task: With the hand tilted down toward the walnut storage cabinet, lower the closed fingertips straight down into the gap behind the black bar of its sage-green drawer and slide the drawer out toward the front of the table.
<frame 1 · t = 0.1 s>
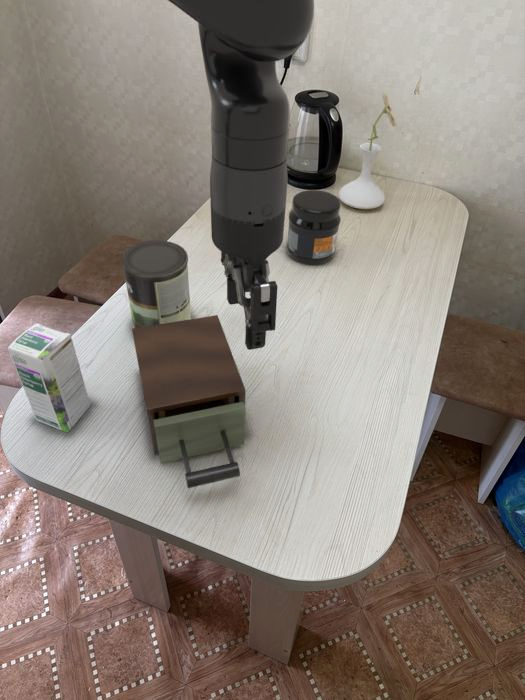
hand: (245, 323, 61), 19 cm above the table, tool pointing down, fingers open, 8 cm apart
coffee can: (163, 325, 89), on the table
syrup box: (64, 413, 74), on the table
drawer: (196, 414, 69), point 5 cm above the table, slide at 1.0 cm
flower in vase: (361, 201, 126), on the table
cabinet: (189, 403, 76), on the table
supplement container: (310, 253, 108), on the table
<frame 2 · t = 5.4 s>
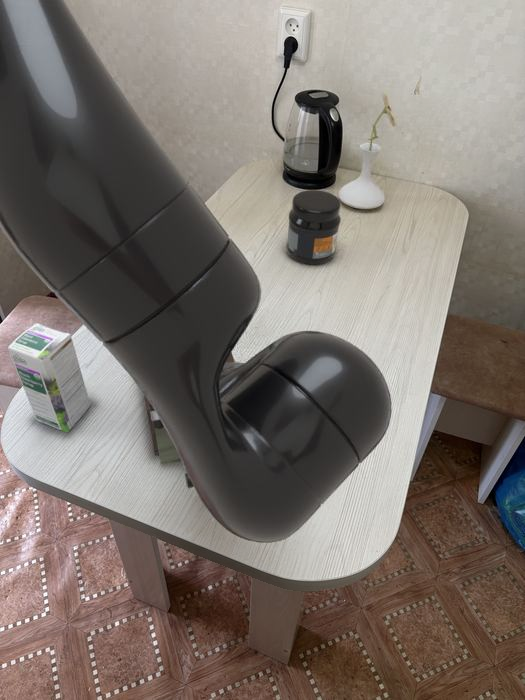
hand: (203, 398, 58), 15 cm above the table, tool tilted 45°, fingers closed
nothing on the table moved.
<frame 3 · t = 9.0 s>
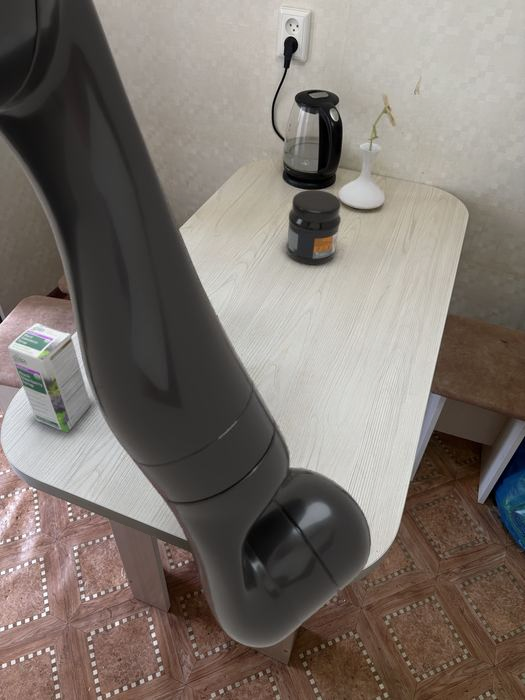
hand: (209, 458, 63), 5 cm above the table, tool tilted 45°, fingers closed
drawer: (196, 416, 68), point 5 cm above the table, slide at 1.4 cm, touching gripper
everything else where it was.
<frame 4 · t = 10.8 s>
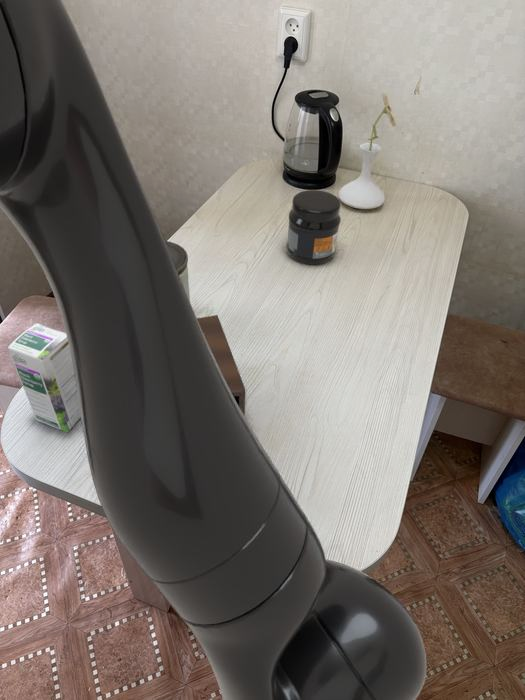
hand: (221, 503, 59), 5 cm above the table, tool tilted 45°, fingers closed
drawer: (207, 454, 64), point 5 cm above the table, slide at 7.7 cm, touching gripper
everything else where it was.
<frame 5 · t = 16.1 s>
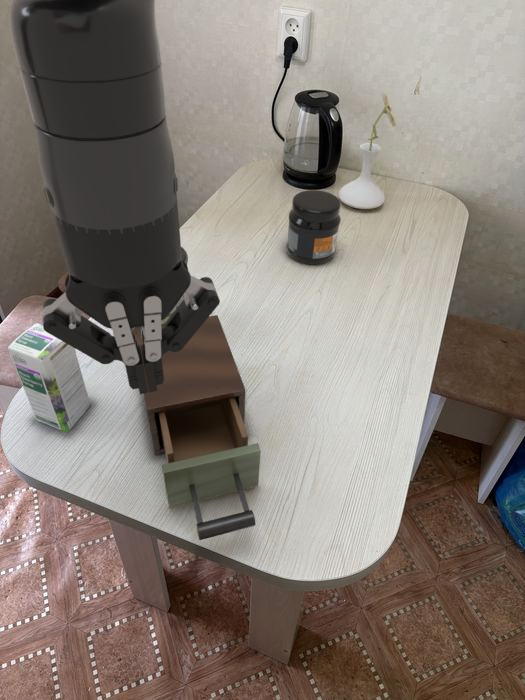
hand: (146, 385, 43), 27 cm above the table, tool pointing down, fingers closed
drawer: (207, 454, 64), point 5 cm above the table, slide at 7.8 cm
everything else where it was.
at the end: drawer slide at 7.8 cm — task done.
